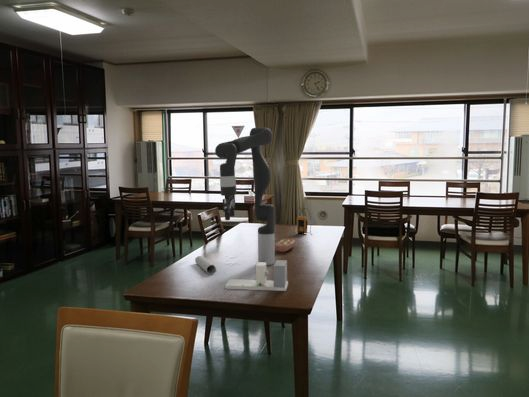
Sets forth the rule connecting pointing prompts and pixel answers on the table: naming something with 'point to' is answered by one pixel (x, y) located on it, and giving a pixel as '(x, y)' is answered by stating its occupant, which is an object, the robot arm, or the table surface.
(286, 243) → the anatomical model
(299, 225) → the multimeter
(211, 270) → the tube
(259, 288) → the base
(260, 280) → the block
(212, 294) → the table surface
